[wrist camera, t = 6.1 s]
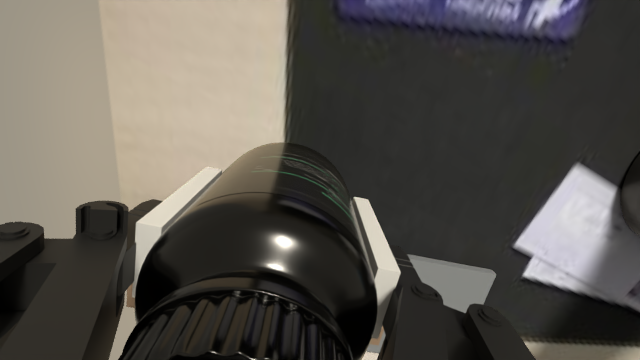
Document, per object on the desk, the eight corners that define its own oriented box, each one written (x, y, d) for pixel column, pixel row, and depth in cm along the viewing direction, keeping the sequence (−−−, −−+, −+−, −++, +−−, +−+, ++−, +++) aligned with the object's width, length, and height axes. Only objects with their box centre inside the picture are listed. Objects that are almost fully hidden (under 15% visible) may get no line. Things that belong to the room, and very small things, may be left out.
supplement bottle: (296, 280, 18) (264, 613, 7) (196, 212, 17) (-54, 485, 5) (375, 194, 17) (504, 437, 5) (272, 111, 15) (146, 199, 4)
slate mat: (491, 269, 38) (496, 274, 37) (452, 358, 42) (455, 364, 41) (381, 249, 37) (383, 253, 36) (351, 342, 41) (352, 349, 40)
